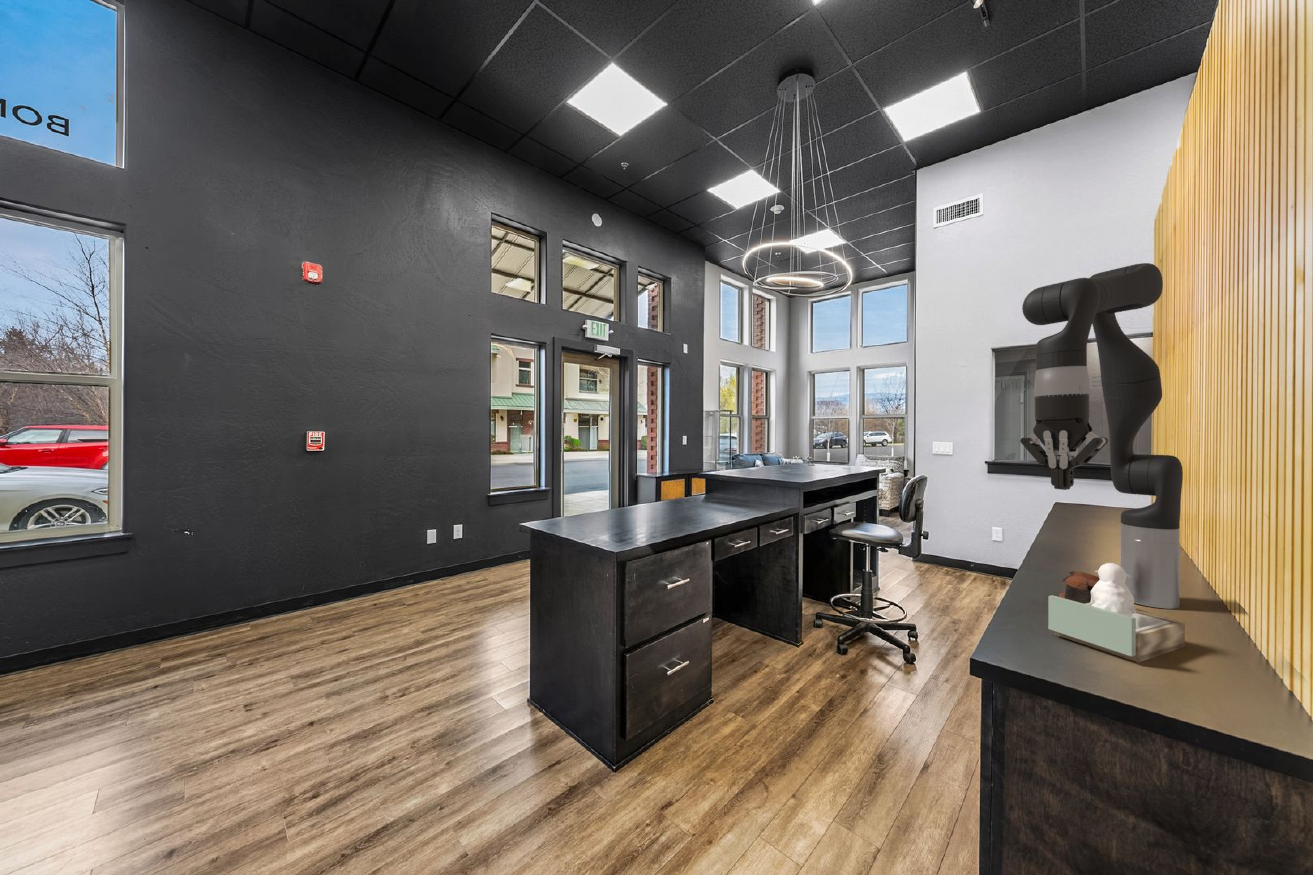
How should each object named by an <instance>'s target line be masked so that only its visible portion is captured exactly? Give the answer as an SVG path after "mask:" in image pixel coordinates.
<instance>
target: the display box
mask: <svg viewBox="0 0 1313 875" xmlns="http://www.w3.org/2000/svg"><path fill="white" fill-rule="evenodd" d="M1086 604H1087V605H1090V603H1086ZM1090 606H1091V605H1090ZM1135 611H1136V613H1137V614H1140V615H1144V616H1148V617H1152V618H1156V619H1159V620H1163V621H1167V622H1170V624H1169V625H1165V626H1161V627H1158V628H1154V629H1151V630H1147V631H1143V632H1140V633H1136V655H1135V656H1129V655H1126V654H1123V653H1120V652H1117V651H1114V650H1111V649H1107V648H1104V647H1101V646H1098V645H1095V644H1092V643H1089V642H1086V641H1083V640H1080V639H1077V638H1074V637H1071V636H1068V635H1065V634H1062V633H1059V632H1056V631H1053V635H1054V636H1058V637H1060V638H1064V639H1067V640H1070V641H1072V642H1075V643H1078V644H1082V645H1085V646H1087V647H1090V648H1093V649H1096V650H1100V651H1102V652H1105V653H1109V654H1110V655H1115V656H1117V657H1121V658H1124V659H1126V660H1129V661H1132V662H1136V663H1138V664H1139V663H1142V662H1146V661H1148V660H1152V659H1154V658H1157V657H1160V656H1162V655H1166V654H1169V653H1171V652H1174V651H1176V650H1180V649H1183V648H1185V644H1186V639H1185V638H1186V635H1185V634H1186V622H1184V621H1181V620H1177V619H1172V618H1168V617H1165V616H1160V615H1157V614H1153V613H1149V612H1145V611H1142V610H1137V609H1135Z"/></svg>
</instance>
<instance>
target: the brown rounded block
mask: <svg viewBox="0 0 1313 875" xmlns="http://www.w3.org/2000/svg"><path fill="white" fill-rule="evenodd" d="M1069 574H1070V575H1068V576H1066V577H1064V578H1063V579H1062V580H1061V582H1064V583H1065V584H1066V585H1065V592H1060V593H1059V594H1058V597H1061V598H1064V599H1068V600H1072V601H1076V602H1079V603H1083V604H1086V603H1090V602H1091V590H1092V588H1093V587H1094V585H1095V584H1096V583H1097V582H1098V581H1099V580H1100V578H1099V575H1094V574H1091V573H1089V572H1088V573H1087V572H1083V571H1076V570H1075V571H1074V570H1072V571H1070V572H1069Z"/></svg>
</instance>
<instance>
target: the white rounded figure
mask: <svg viewBox="0 0 1313 875" xmlns="http://www.w3.org/2000/svg"><path fill="white" fill-rule="evenodd" d="M1094 572H1095V573H1096V574H1098V577H1099V578H1100V580H1099V581H1098V582H1097V583H1096V584H1095V585H1094V587H1093V588H1092V590H1091V602H1090V605H1092V606H1094V607H1098V608H1101V609H1105V610H1109V611H1113V612H1116V613H1120V614H1124V615H1127V616H1131V617H1133V616H1132V614H1134V613H1136V611H1135V610H1136V607H1135V603H1134V597H1133V595H1132V593H1131V591H1130V590H1129V588H1128V587H1127V586H1126V584H1125V581H1126V578H1127V576H1129V575H1128V574H1126V572H1125V570H1124V569H1123V568H1122V567H1121V565H1119V564H1117V563H1114V562H1106V563H1103V564H1102V565H1100V567H1099V569H1097V570H1095V571H1094ZM1126 575H1127V576H1126ZM1130 577H1131V576H1130ZM1128 578H1129V577H1128ZM1129 579H1130V578H1129Z"/></svg>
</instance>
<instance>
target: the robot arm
mask: <svg viewBox="0 0 1313 875" xmlns="http://www.w3.org/2000/svg"><path fill="white" fill-rule="evenodd" d="M1163 282H1164V281H1163V276H1162V273H1161V270H1160V269H1159V267H1158V266H1156V265H1155V264H1152V263H1148V262H1143V263H1135V264H1131V265H1126V266H1122V267H1118V268H1113V269H1110V270H1106V271H1101V272H1098V273H1094V274H1093V275H1091V276H1090V277H1078V278H1074V279H1070V280H1067V281H1062V282H1058V283H1052V284H1048V285H1044V286H1040V287H1037V288H1034V289H1033V290H1032V291H1030V292H1029V293H1028V294H1027V295H1026V297H1025V298H1024V300H1023V302H1022V305H1021V306H1022V308H1021V310H1022V314H1023V317H1024V319H1026V321H1028V322H1029V323H1031V324H1032V325H1035V326H1045V325H1053V324H1058V323H1063V322H1066V324H1065V326H1064V327H1063V328H1062V330H1060V331H1059V332H1056V333H1054V334H1052V335H1049V336H1046V337H1043V338H1041V339H1040V340H1038V341H1037V343H1036V346H1035V368H1036V369H1035V378H1034V390H1033V393H1034V419H1035V424H1034V427H1033V430H1032V433H1030V434H1029V435H1028V436H1026V437H1021V438H1020V440H1019V442H1020V444H1022V446H1023V447H1024V449H1026V450H1027V451H1028V452H1029V454H1030V455H1031V456H1032V457H1033V458H1034V460H1036V462H1037V463H1038V464H1039V465H1043V466H1047V467H1049V468H1050V484H1051V486H1053V488H1054V490H1062V491H1067V490H1070V489H1071V487H1073V486H1074V482H1075V481H1074V479H1075V472H1074V470H1075V469H1076V468H1078V467H1081V466H1086V465H1087V464H1088V463H1089V462H1090V461H1091V460H1093V458H1095V456H1096V455H1097V454H1098V453H1099V452H1100V451H1101V450H1102V449H1104V447H1105V446H1106V445H1107V444H1108V442H1109V457H1110V459H1109V460H1110V461H1109V462H1110V476H1111V477H1110V478H1111V481H1112V484H1113V487H1114V489H1115V490H1116V491H1118V493H1121V494H1129V495H1137V496H1138V495H1141V496H1152V497H1153V496H1154V497H1155V501H1154V502H1153V503H1151V504H1149V505H1147V506H1143V507H1138V508H1132V509H1126V510H1123V511H1122V512H1121V513H1120V566H1121V567H1122V568H1123V569H1124V570H1125V572H1126V574H1128V575H1129V576H1127V575H1126V576H1127V578H1126V581H1125V584H1126V586H1127V587H1128V588H1129V590H1130V591H1131V593H1132V595H1133V597H1134V604H1137V605H1142V606H1144V607H1145V606H1146V607H1151V608H1159V609H1169V610H1175V609H1179V608H1180V605H1181V604H1180V602H1181V601H1180V600H1181V597H1180V596H1181V595H1180V593H1181V592H1180V591H1181V590H1180V588H1181V585H1180V584H1181V583H1180V581H1181V576H1180V575H1181V574H1180V573H1181V572H1180V571H1181V570H1180V566H1181V564H1180V563H1181V558H1180V556H1181V552H1180V549H1181V547H1180V546H1181V545H1180V544H1181V543H1180V538H1181V536H1180V535H1181V534H1180V532H1181V530H1180V527H1181V525H1180V524H1181V522H1180V521H1181V508H1182V507H1181V505H1182V502H1181V500H1182V488H1183V478H1184V472H1183V466H1182V462H1181V460H1180V459H1179V458H1178V457H1177V456H1175V455H1169V454H1145V453H1144V454H1143V453H1142V454H1137V453H1135V452H1134V442H1135V439H1136V437H1137V434H1138V432H1139V431H1140V429H1141V428H1142V426H1143V425H1144V424H1145V423H1146V422H1147V420H1148V419H1149V418H1150V417H1151V416H1152V414H1153V413H1154V411H1155V410H1156V409H1157V407H1158V406H1159V405H1160V403H1161V401H1162V398H1163V388H1162V380H1161V371H1160V368H1159V366H1158V364H1157V362H1155V360H1154V359H1153V358H1152V357H1151V356H1150V354H1149V355H1148V353H1146V352H1145V351H1144V350H1143V349H1141V347H1139V346H1138V345H1137V344H1136V343H1134V342H1133V341H1132V340H1131V339H1130V338H1129V337H1128V335H1126V334H1125V332H1124V331H1123V330H1122V328H1121V326H1120V324H1119V322H1118V320H1117V316H1116V313H1120V312H1127V311H1132V310H1133V311H1134V310H1139V309H1143V308H1146V307H1149V306H1153V305H1154V304H1155V303H1156V302H1158V300H1159V299H1160V298H1161V296H1162V293H1163V287H1164V285H1163ZM1092 327H1093V333H1094V337H1095V341H1096V342H1095V343H1096V347H1097V352H1098V353H1097V354H1098V360H1099V369H1100V381H1101V388H1102V394H1103V395H1102V398H1103V402H1104V405H1105V406H1104V407H1105V412H1106V418H1107V420H1106V421H1107V425H1108V435H1109V436H1108V437H1109V439H1108V438H1107V437H1101V436H1100V435H1098V434H1096V433H1094V432H1093V427H1092V426H1091V423H1090V422H1089V421H1090V420H1089V419H1090V377H1089V372H1088V363H1087V362H1088V357H1087V356H1088V354H1087V353H1088V351H1087V350H1088V341H1089V336H1090V332H1091V328H1092ZM1040 443H1041V444H1042V445H1043V446H1044V448H1045V449H1044V448H1043V447H1042V446H1041V444H1040ZM1083 443H1085V446H1084V447H1083V448H1082V449H1081V450H1080V451H1079V448H1080V447H1081V445H1083ZM1130 576H1131V577H1130ZM1128 577H1129V578H1130V579H1129V578H1128Z"/></svg>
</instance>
